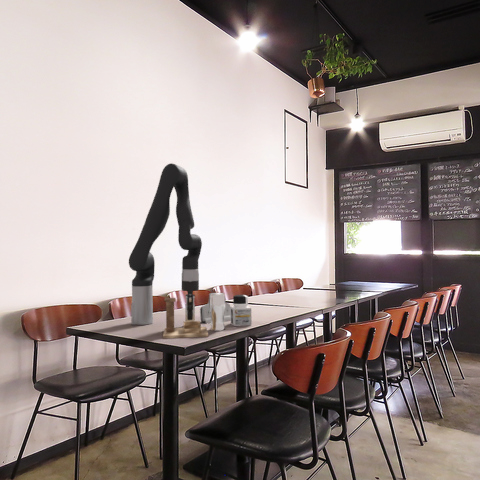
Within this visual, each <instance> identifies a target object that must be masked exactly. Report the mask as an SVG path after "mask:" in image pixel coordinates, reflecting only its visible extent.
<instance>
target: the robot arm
mask: <svg viewBox="0 0 480 480" xmlns="http://www.w3.org/2000/svg"><path fill="white" fill-rule="evenodd" d="M173 190H175V194H176V206H175V215H176V219H177V224H178V237H177V238H178V240H177V241H178V245H179V247H180V248H181V249H182V250H183V251H188V252H187V254H186V255H184V256H182V262H181V264H182V266H181V291H184V292H187V294H185V304H186V305H187V311H188V316H187V319H188V320H192V319H193V306H194V304H195V298H196V295H195V294H193V293H194V292H197V291H199V288H200V280H199V279H200V273H199V259H200V255H201V252H202V245H203V241H202V238H201V237H200V236H199V235H198V234H196V233H195V234H193V233H191V230H192V229H194V227H195V221H194V215H193V212H192V207H191V200H190V189H189V176H188V173H187V170H186V169H185V168H184V167H182V166H180V165H178V164H175V163H173V162H172V163H167V164H166V166H165V165H164V167H163V169H162V171H161V174H160V177H159V182H158V185H157V189H156V192H155V195H154V198H153V201H152V202H151V205H150V208H149V210H148V213H147V215H146V218H145V220H144V225H143V226H142V228H141V231H140V234H139V236H138V240H137V241H136V243H135V245H134V247H133V249H132V250H131V252H130V255H129V258H128V266H129V268H130V269H131V270H132V271H134V272H135V277H134V278H133V279H132V280H131V308H130V311H131V314H130V315H131V316H130V317H131V325H134V326H137V325H138V326H142V325H143V326H145V325H152V324H153V323H154V322H153V321H154V317H153V316H154V315H153V313H154V312H153V311H154V310H153V309H154V308H153V303H154V302H153V298H154V297H153V292H154V291H153V290H154V289H153V284H154V283H153V282H154V278H155V257H154V255H153V253H152V252H151V250H152V247H153V245H154V243H155V242H156V240H157V239H158V238H159V236H161V234H162V233H163V232H164V230H165V229H166V226H167V223H168V220H169V218H170V214H171V210H170V209H171V207H170V206H171V205H170V202H171V201H170V200H171V199H170V198H171V196H172V193H173V192H172V191H173ZM188 306H192V307H188Z"/></svg>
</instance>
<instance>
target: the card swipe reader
mask: <svg viewBox="0 0 480 480" xmlns="http://www.w3.org/2000/svg"><path fill="white" fill-rule="evenodd" d="M225 303H226V305H225V314H224V322H229V321H230V322H231V312H230V307H231V304H230V303H228V302H225ZM199 316H200V317H199V318H200V323H205V324H206V325H207V323H208V324H211V316H210V311H209V302H208V303H207V304H204V305H202V306H200V308H199Z"/></svg>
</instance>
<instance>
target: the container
mask: <svg viewBox="0 0 480 480" xmlns="http://www.w3.org/2000/svg"><path fill="white" fill-rule="evenodd" d="M232 302H233V303H232V305H230V312H231V321H230V324H231V325H232V326H234V327H244V326H252V307H250V306H248V305H249V296H248V295H246V294H235V295H233V298H232Z"/></svg>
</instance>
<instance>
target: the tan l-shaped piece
mask: <svg viewBox="0 0 480 480" xmlns="http://www.w3.org/2000/svg"><path fill="white" fill-rule="evenodd" d="M176 301H177V300H176V297H165V298H164V302H165V310H166V311H165V318H166V319H165V320H166V321H165V322H166V327H165V328H164V331H163V334H162V338H163V339H178V338H179V339H181V338H182V339H183V338H184V339H186V338H204V337H205V338H207V337H209V332H208V330H207V329H208V328H207V326H202V325H201V320H195V321H183V322H182V323H183V325H182V326H183V327H175V303H176Z"/></svg>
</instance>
